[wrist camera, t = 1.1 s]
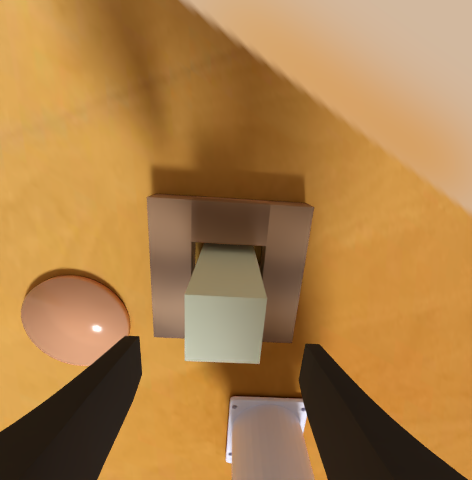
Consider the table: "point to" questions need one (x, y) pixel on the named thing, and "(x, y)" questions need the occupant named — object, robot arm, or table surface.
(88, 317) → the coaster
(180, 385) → the table surface
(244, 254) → the peg
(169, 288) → the block
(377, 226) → the table surface
